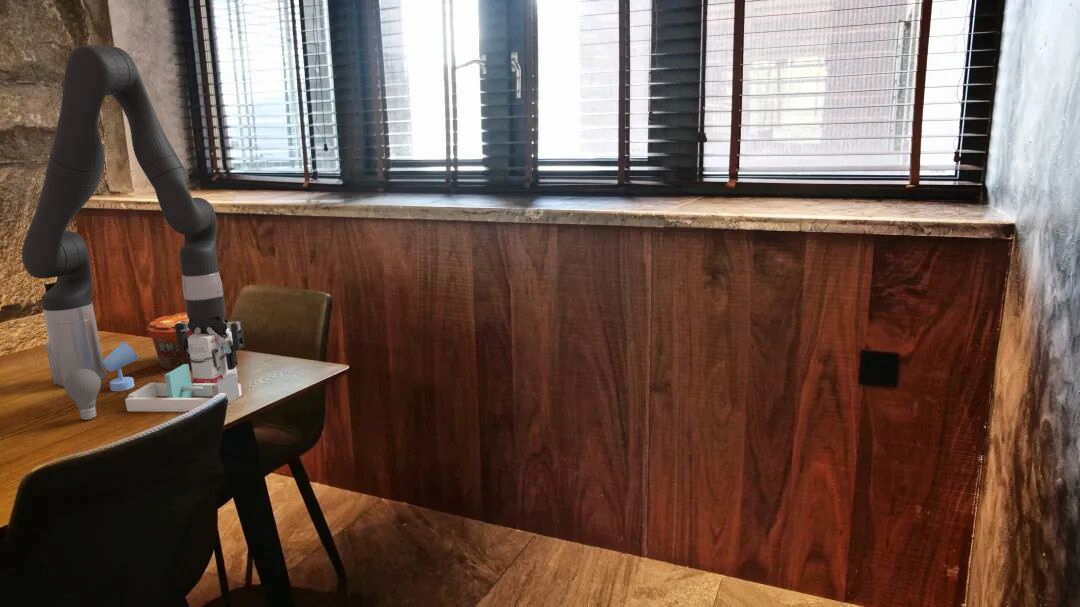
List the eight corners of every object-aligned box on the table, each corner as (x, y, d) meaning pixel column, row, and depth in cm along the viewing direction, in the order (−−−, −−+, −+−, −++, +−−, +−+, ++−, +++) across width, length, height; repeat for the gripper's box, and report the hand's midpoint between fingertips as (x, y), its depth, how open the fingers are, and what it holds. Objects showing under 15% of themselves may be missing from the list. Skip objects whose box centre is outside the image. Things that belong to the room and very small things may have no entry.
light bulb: (81, 413, 143) (71, 365, 141) (113, 411, 144) (104, 363, 142) (64, 425, 138) (54, 375, 135) (97, 423, 138) (88, 373, 136)
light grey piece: (127, 411, 144) (122, 387, 143) (155, 394, 153) (151, 371, 152) (218, 411, 142) (214, 387, 141) (241, 394, 151) (238, 371, 150)
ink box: (214, 391, 153) (206, 337, 150) (194, 390, 154) (185, 337, 151) (239, 377, 162) (231, 326, 159) (219, 377, 162) (211, 326, 160)
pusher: (169, 407, 144) (164, 374, 143) (188, 395, 151) (183, 364, 149) (194, 407, 144) (189, 375, 142) (212, 395, 150) (207, 364, 148)
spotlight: (137, 380, 162) (103, 389, 157) (130, 337, 160) (95, 344, 155) (146, 384, 159) (111, 394, 154) (138, 340, 157) (103, 348, 152)
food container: (200, 374, 165) (193, 328, 162) (137, 372, 168) (130, 327, 165) (240, 352, 180) (234, 310, 178) (182, 351, 183) (175, 310, 180)
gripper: (160, 298, 150) (173, 374, 154) (226, 298, 149) (237, 374, 153) (182, 290, 158) (193, 363, 161) (245, 289, 156) (255, 363, 160)
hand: (215, 368), depth 157 cm, fingers open, 7 cm apart
